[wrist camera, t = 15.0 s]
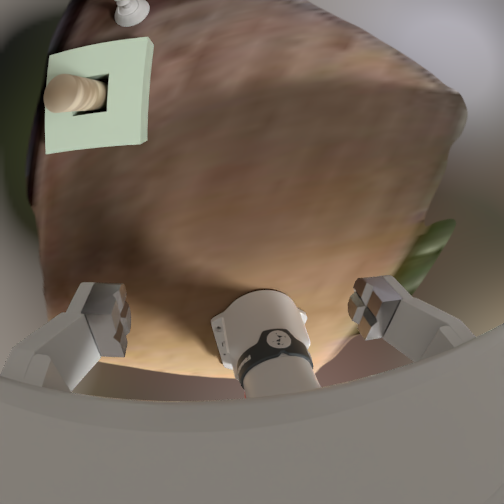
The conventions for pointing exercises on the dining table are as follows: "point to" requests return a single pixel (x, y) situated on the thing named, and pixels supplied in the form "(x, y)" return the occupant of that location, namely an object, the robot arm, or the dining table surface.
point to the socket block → (118, 99)
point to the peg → (75, 94)
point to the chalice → (131, 12)
